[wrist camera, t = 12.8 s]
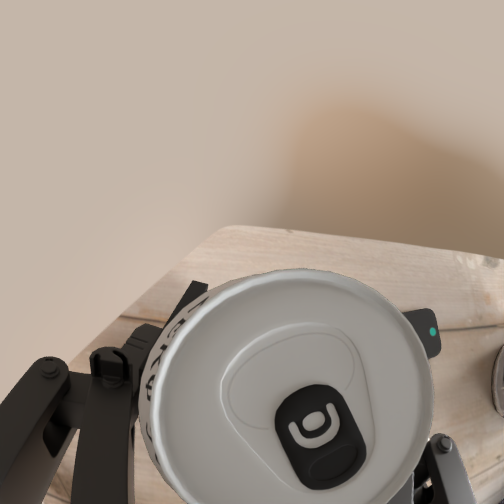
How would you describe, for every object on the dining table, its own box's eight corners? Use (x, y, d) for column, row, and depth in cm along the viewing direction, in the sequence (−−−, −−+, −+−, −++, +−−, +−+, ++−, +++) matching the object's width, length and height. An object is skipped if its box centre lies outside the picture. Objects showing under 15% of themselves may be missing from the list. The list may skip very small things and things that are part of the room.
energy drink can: (263, 335, 19) (370, 200, 6) (300, 415, 17) (483, 444, 4) (177, 367, 18) (67, 301, 4) (213, 451, 15) (213, 601, 2)
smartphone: (443, 353, 35) (360, 377, 33) (440, 354, 36) (357, 378, 34) (433, 306, 39) (351, 321, 36) (430, 307, 39) (348, 322, 37)
